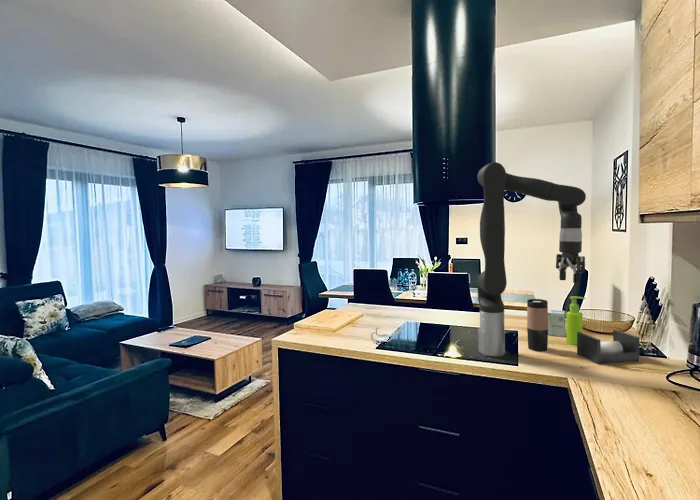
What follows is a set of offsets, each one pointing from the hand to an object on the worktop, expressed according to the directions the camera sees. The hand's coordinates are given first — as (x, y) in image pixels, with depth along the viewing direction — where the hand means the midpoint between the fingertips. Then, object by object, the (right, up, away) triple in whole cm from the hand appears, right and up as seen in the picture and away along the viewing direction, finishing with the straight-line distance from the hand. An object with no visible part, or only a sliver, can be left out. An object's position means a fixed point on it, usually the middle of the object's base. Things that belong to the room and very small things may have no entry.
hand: (569, 281), depth 147 cm
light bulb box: (+8, -27, +28) cm, 40 cm away
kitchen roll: (+11, -25, -5) cm, 28 cm away
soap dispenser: (+10, -28, +13) cm, 32 cm away
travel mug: (-8, -29, +8) cm, 31 cm away
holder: (+11, -28, -5) cm, 31 cm away
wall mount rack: (-68, -30, +27) cm, 79 cm away
